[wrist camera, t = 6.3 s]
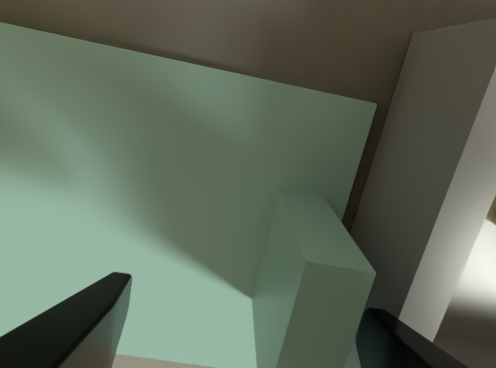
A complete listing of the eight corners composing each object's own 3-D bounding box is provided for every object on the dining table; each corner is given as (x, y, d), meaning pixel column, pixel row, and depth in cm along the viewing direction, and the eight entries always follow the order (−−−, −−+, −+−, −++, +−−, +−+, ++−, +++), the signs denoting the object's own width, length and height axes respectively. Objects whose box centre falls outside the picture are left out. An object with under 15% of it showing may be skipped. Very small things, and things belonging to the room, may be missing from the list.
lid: (290, 361, 14) (321, 522, 9) (-39, 314, 13) (-207, 468, 8) (368, 101, 11) (473, 128, 6) (-45, 12, 10) (-312, -40, 5)
